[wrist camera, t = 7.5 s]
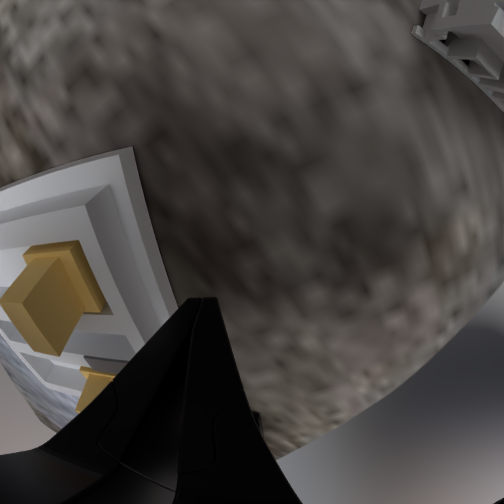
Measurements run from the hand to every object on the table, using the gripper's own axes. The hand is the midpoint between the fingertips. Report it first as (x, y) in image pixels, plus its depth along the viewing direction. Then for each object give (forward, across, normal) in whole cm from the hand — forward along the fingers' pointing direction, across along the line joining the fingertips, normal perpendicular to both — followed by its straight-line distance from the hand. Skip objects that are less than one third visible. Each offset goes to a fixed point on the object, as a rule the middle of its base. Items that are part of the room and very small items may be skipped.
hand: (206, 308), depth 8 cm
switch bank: (+4, +10, +4) cm, 12 cm away
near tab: (+3, +7, 0) cm, 7 cm away
